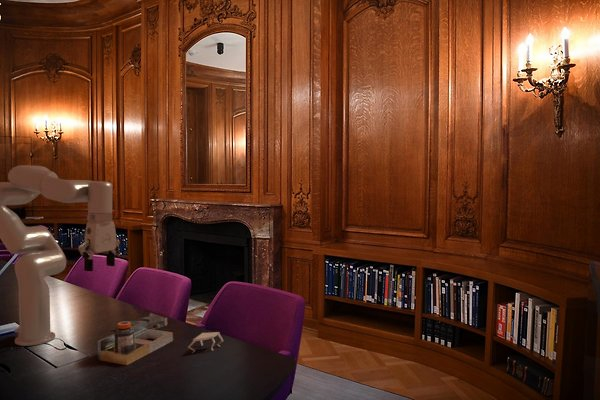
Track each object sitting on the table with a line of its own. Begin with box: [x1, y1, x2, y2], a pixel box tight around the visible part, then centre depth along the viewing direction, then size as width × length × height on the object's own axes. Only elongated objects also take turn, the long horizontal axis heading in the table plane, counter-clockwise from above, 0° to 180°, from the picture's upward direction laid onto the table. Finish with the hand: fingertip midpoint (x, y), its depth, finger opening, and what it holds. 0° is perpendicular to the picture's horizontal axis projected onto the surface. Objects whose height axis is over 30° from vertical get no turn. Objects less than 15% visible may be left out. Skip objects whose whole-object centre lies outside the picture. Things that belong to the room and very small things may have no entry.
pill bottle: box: [114, 320, 134, 354], centre depth 149 cm, size 6×6×11 cm
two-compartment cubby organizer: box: [97, 321, 174, 366], centre depth 156 cm, size 12×24×6 cm, turn 160°
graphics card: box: [116, 312, 168, 330], centre depth 180 cm, size 17×4×12 cm
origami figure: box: [187, 331, 224, 354], centre depth 156 cm, size 12×8×5 cm
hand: (99, 268), depth 156 cm, fingers open, 9 cm apart
